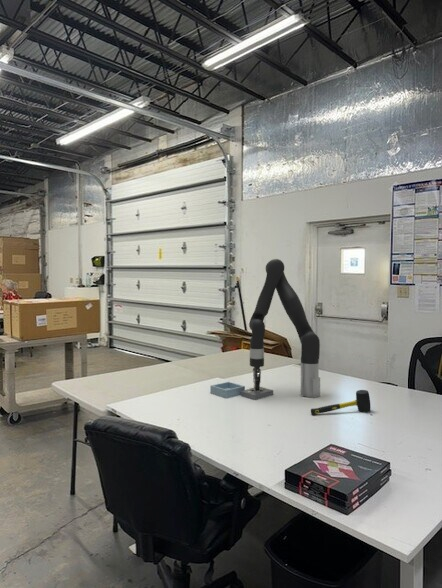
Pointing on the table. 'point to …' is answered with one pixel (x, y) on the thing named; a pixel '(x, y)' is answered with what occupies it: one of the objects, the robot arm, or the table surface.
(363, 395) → the mallet
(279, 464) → the table surface
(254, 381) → the cylinder
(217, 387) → the parts tray
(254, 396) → the fuse block
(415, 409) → the table surface
